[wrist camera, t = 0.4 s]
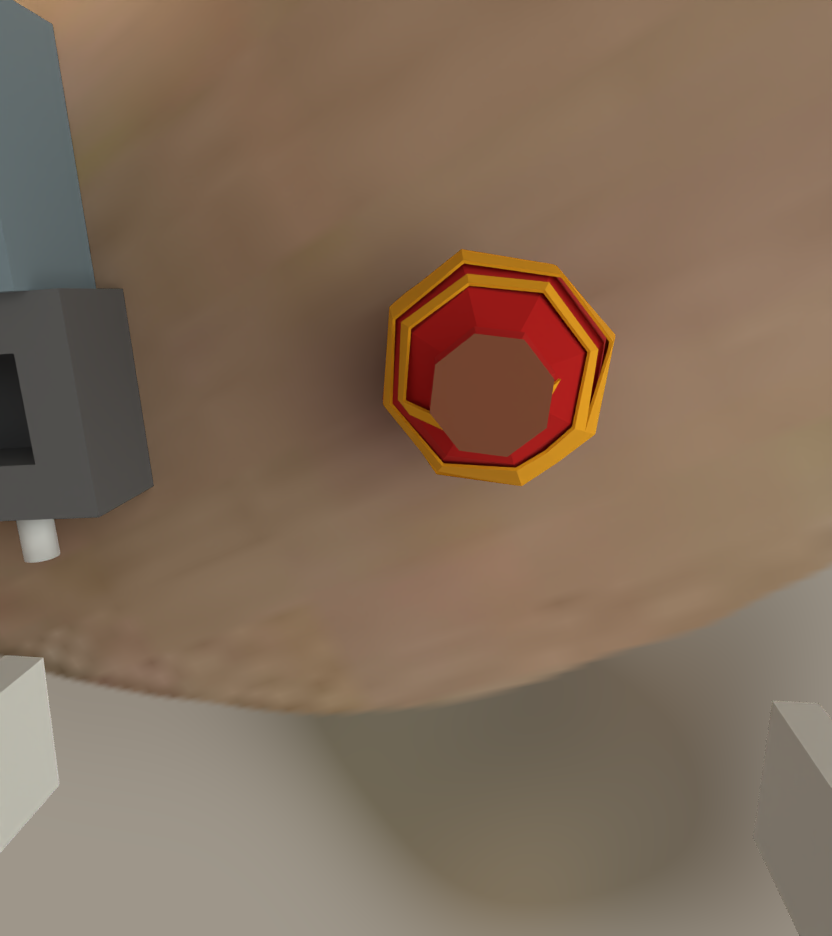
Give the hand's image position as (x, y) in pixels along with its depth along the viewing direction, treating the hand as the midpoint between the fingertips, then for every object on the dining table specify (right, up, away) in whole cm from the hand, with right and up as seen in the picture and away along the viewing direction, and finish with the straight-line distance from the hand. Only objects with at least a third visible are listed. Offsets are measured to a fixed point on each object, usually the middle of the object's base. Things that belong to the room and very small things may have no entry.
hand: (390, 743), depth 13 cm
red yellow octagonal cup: (+5, +11, +25) cm, 28 cm away
